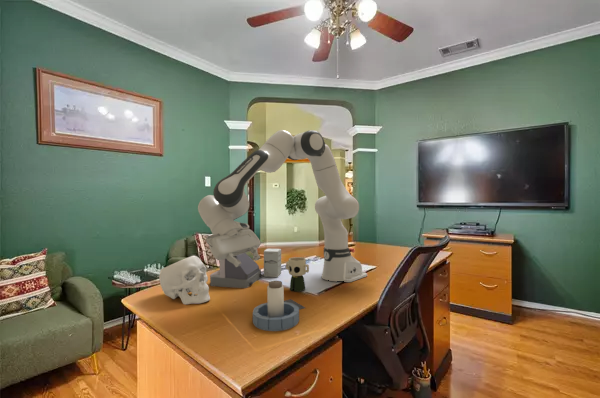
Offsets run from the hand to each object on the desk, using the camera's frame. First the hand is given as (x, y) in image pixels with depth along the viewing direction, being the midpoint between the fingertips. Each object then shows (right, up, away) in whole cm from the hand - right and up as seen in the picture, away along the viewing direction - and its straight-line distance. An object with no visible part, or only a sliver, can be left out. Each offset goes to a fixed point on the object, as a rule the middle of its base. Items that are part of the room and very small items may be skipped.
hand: (248, 262), depth 97 cm
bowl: (+10, -16, -9) cm, 21 cm away
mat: (+13, -16, +2) cm, 20 cm away
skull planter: (-26, -17, +12) cm, 33 cm away
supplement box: (+4, -16, +43) cm, 46 cm away
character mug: (+17, -16, +20) cm, 30 cm away
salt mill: (+10, -15, -9) cm, 21 cm away
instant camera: (-11, -16, +34) cm, 39 cm away
